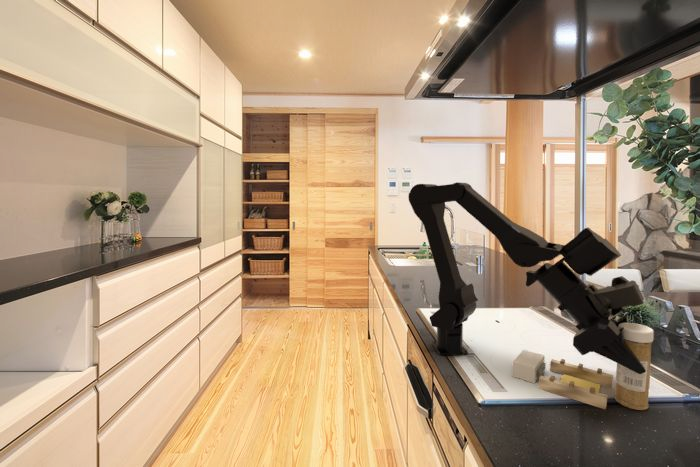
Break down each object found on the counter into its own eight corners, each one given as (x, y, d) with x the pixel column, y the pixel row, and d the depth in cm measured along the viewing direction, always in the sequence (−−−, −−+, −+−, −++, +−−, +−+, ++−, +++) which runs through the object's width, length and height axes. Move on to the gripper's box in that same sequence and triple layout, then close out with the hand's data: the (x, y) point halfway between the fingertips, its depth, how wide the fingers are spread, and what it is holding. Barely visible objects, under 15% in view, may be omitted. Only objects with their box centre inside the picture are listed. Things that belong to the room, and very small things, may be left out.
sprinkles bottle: (652, 405, 58) (658, 327, 57) (642, 414, 56) (648, 333, 54) (619, 392, 62) (624, 319, 61) (609, 401, 59) (613, 325, 58)
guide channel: (538, 388, 64) (539, 374, 64) (551, 368, 71) (552, 356, 71) (605, 409, 57) (606, 394, 57) (612, 385, 64) (613, 372, 64)
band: (555, 389, 63) (555, 388, 63) (563, 374, 68) (563, 374, 68) (595, 402, 59) (595, 401, 59) (601, 385, 64) (601, 384, 64)
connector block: (512, 376, 68) (512, 361, 68) (523, 363, 73) (523, 349, 73) (537, 384, 65) (537, 368, 65) (546, 370, 70) (547, 356, 70)
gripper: (601, 273, 52) (699, 365, 46) (615, 256, 66) (692, 326, 60) (541, 313, 58) (621, 399, 52) (565, 290, 72) (630, 356, 66)
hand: (643, 367), depth 57 cm, fingers closed on sprinkles bottle, 4 cm apart
